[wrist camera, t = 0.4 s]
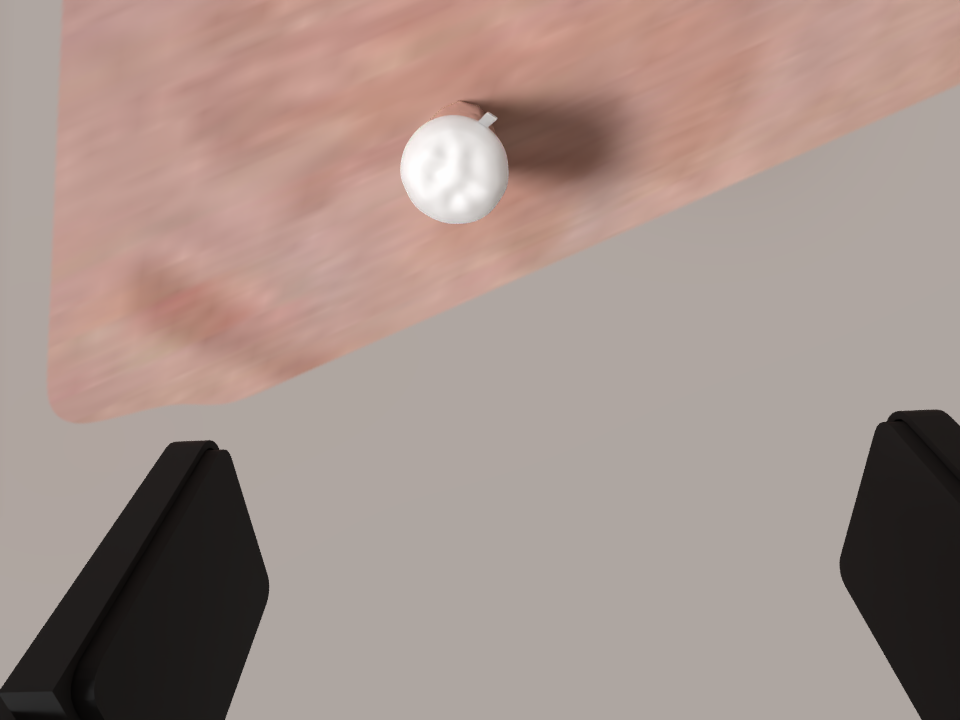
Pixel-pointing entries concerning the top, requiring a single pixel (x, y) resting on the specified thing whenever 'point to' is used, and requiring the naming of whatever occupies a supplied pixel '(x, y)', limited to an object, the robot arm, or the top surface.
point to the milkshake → (455, 165)
